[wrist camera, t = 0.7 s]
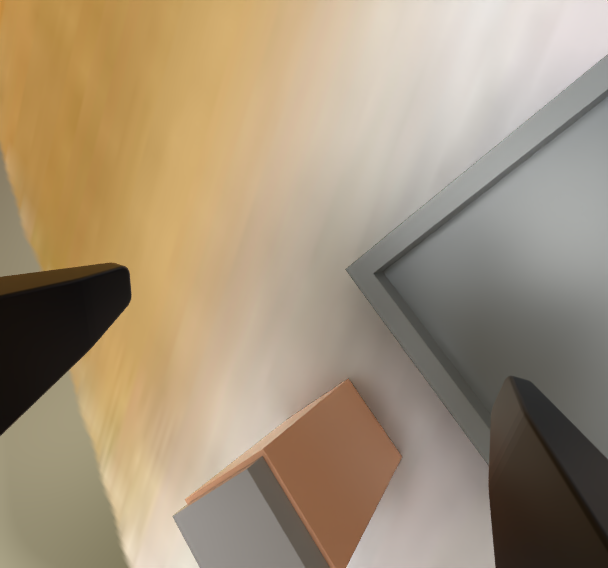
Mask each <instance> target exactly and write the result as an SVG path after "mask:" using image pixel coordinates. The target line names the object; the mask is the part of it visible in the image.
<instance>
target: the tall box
mask: <svg viewBox="0 0 608 568" xmlns="http://www.w3.org/2000/svg"><path fill="white" fill-rule="evenodd" d="M401 458H402V456H401V455H400V453H399V452H398V450H397V449H396V447H395V446H394V444H393V443H392V441H391V440H390V438H389V437H388V436H387V434H386V433H385V431H384V430H383V428H382V427H381V425H380V424H379V422H378V421H377V419H376V418H375V417H374V415H373V414H372V412H371V411H370V409H369V408H368V406H367V405H366V403H365V402H364V400H363V399H362V398H361V396H360V395H359V393H358V392H357V390H356V389H355V387H354V386H353V384H352V383H351V381H350V380H349V379H347V380H345V381H344V382H342V383H341V384H339V385H338V386H336V387H335V388H333V389H332V390H330V391H329V392H327V393H326V394H324V395H323V396H321V397H320V398H318V399H317V400H315V401H314V402H312V403H311V404H309V405H308V406H306V407H305V408H303V409H302V410H300V411H299V412H297V413H296V414H294V415H293V416H291V417H290V418H288V419H287V420H286V421H284V422H283V423H282V424H281V425H279V426H278V427H277V428H276V429H274V430H273V431H272V432H270V433H269V434H268V435H267V436H265V437H264V438H263V439H261V440H260V441H259V442H258V443H256V444H255V445H254V446H253V447H251V448H250V449H249V450H247V451H246V452H245V453H244V454H242V455H241V456H240V457H238V458H237V459H236V460H235V461H233V462H232V463H231V464H230V465H228V466H227V467H226V468H224V469H223V470H222V471H221V472H219V473H218V474H217V475H215V476H214V477H213V478H212V479H210V480H209V481H208V482H207V483H205V484H204V485H203V486H201V487H200V488H199V489H198V490H196V491H195V492H194V493H192V494H191V495H190V496H189V497H187V498H186V499H185V501H186V503H187V505H186V506H184V507H183V508H182V509H181V510H180V511H178V512H177V513H176V514H175V515H173V518H174V520H175V522H176V524H177V526H178V528H179V530H180V531H181V533H182V535H183V537H184V539H185V541H186V543H187V544H188V546H189V548H190V550H191V552H192V554H193V556H194V558H195V559H196V561H197V563H198V565H199V567H200V568H346V567H347V565H348V563H349V561H350V559H351V557H352V555H353V553H354V551H355V549H356V547H357V545H358V543H359V541H360V539H361V537H362V535H363V533H364V531H365V529H366V527H367V525H368V523H369V521H370V519H371V517H372V515H373V513H374V511H375V509H376V507H377V505H378V503H379V501H380V500H381V498H382V496H383V494H384V492H385V490H386V488H387V486H388V484H389V482H390V480H391V478H392V476H393V474H394V472H395V470H396V468H397V466H398V464H399V462H400V460H401Z"/></svg>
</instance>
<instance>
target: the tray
mask: <svg viewBox="0 0 608 568" xmlns="http://www.w3.org/2000/svg"><path fill="white" fill-rule="evenodd" d="M345 270H346V271H347V272H348V274H349V275H350V276H351V278H352V279H353V280H354V282H355V283H356V285H357V286H358V287H359V289H360V290H361V291H362V293H363V294H364V296H365V297H366V298H367V300H368V301H369V302H370V304H371V305H372V306H373V308H374V309H375V311H376V312H377V313H378V315H379V316H380V317H381V319H382V320H383V322H384V323H385V324H386V326H387V327H388V328H389V330H390V331H391V333H392V334H393V335H394V337H395V338H396V339H397V341H398V342H399V343H400V345H401V346H402V348H403V349H404V350H405V352H406V353H407V354H408V356H409V357H410V359H411V360H412V361H413V363H414V364H415V365H416V367H417V368H418V369H419V371H420V372H421V374H422V375H423V376H424V378H425V379H426V380H427V382H428V383H429V385H430V386H431V387H432V389H433V390H434V391H435V393H436V394H437V396H438V397H439V398H440V400H441V401H442V402H443V404H444V405H445V406H446V408H447V409H448V411H449V412H450V413H451V415H452V416H453V417H454V419H455V420H456V422H457V423H458V424H459V426H460V427H461V428H462V430H463V431H464V432H465V434H466V435H467V437H468V438H469V439H470V441H471V442H472V443H473V445H474V446H475V448H476V449H477V450H478V452H479V453H480V454H481V456H482V457H483V458H484V460H485V461H486V463H487V464H488V465H489V452H490V426H491V412H492V408H493V405H494V402H495V400H496V398H497V396H498V394H499V391H500V389H501V387H502V385H503V383H504V381H505V379H506V378H507V377H508V376H510V375H512V376H516V377H519V378H523V379H527V380H529V381H531V382H532V383H533V384H534V385H535V386H536V387H537V388H538V389H539V390H540V391H541V392H542V393H543V394H544V395H545V396H546V397H547V398H548V399H549V400H550V401H551V402H552V403H553V404H554V405H555V406H556V407H557V408H558V409H559V410H560V411H561V412H562V413H563V414H564V415H565V416H566V417H567V418H568V419H569V420H570V421H571V422H572V423H573V424H574V425H575V426H576V427H577V428H578V429H579V430H580V431H581V432H582V433H583V434H584V435H585V436H586V437H587V438H588V439H589V440H590V441H591V442H592V443H593V444H594V445H595V446H596V447H597V448H598V450H599V451H600V452H601V453H602V454H603V455H604V456H605V457H606V458H607V459H608V55H606V56H605V57H604V58H603V59H601V60H600V61H599V62H598V63H597V64H595V65H594V66H593V67H592V68H591V69H589V70H588V71H587V72H586V73H584V74H583V75H582V76H581V77H580V78H578V79H577V80H576V81H575V82H573V83H572V84H571V85H570V86H569V87H567V88H566V89H565V90H564V91H562V92H561V93H560V94H559V95H558V96H556V97H555V98H554V99H553V100H551V101H550V102H549V103H548V104H547V105H545V106H544V107H543V108H542V109H540V110H539V111H538V112H537V113H536V114H534V115H533V116H532V117H531V118H529V119H528V120H527V121H526V122H525V123H523V124H522V125H521V126H520V127H519V128H517V129H516V130H515V131H514V132H512V133H511V134H510V135H509V136H508V137H506V138H505V139H504V140H503V141H501V142H500V143H499V144H498V145H497V146H495V147H494V148H493V149H492V150H490V151H489V152H488V153H487V154H486V155H484V156H483V157H482V158H481V159H479V160H478V161H477V162H476V163H475V164H473V165H472V166H471V167H470V168H468V169H467V170H466V171H465V172H464V173H462V174H461V175H460V176H459V177H458V178H456V179H455V180H454V181H453V182H451V183H450V184H449V185H448V186H447V187H445V188H444V189H443V190H442V191H440V192H439V193H438V194H437V195H436V196H434V197H433V198H432V199H431V200H429V201H428V202H427V203H426V204H425V205H423V206H422V207H421V208H420V209H418V210H417V211H416V212H415V213H414V214H412V215H411V216H410V217H409V218H407V219H406V220H405V221H404V222H403V223H401V224H400V225H399V226H398V227H396V228H395V229H394V230H393V231H392V232H390V233H389V234H388V235H387V236H386V237H384V238H383V239H382V240H381V241H379V242H378V243H377V244H376V245H375V246H373V247H372V248H371V249H370V250H368V251H367V252H366V253H365V254H364V255H362V256H361V257H360V258H359V259H357V260H356V261H355V262H354V263H353V264H351V265H350V266H349V267H348V268H346V269H345Z"/></svg>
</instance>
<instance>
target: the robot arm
mask: <svg viewBox="0 0 608 568" xmlns="http://www.w3.org/2000/svg"><path fill="white" fill-rule="evenodd" d="M130 301H131V283H130V273H129V270H128V268H127V267H125V266H123V265H119V264H116V263H104V264H96V265H89V266H81V267H73V268H65V269H58V270H50V271H42V272H35V273H27V274H20V275H12V276H4V277H0V436H1V435H2V434H3V433H4V432H5V431H6V430H7V429H8V428H9V427H10V426H11V425H12V424H13V423H14V422H16V421H17V420H18V418H19V417H21V415H23V414H24V413H25V412H26V411H27V410H28V409H29V408H30V407H31V406H32V405H33V404H34V403H35V402H36V401H37V400H38V399H39V398H40V397H41V396H42V395H44V394H45V393H46V392H47V391H48V390H49V389H50V388H51V387H52V386H53V385H54V384H55V383H56V382H57V381H58V380H59V379H60V378H61V377H62V376H63V375H64V374H65V373H66V372H67V371H68V370H69V369H71V368H72V367H73V366H74V365H75V364H76V363H77V362H78V361H79V360H80V359H81V358H82V357H83V356H84V355H85V354H86V353H87V352H88V351H89V350H90V349H91V348H92V347H93V346H94V345H95V343H96V342H97V341H98V340H99V339H100V338H101V337H102V335H103V334H104V333H105V332H106V331H107V330H108V328H109V327H110V326H111V325H112V324H113V323H114V321H115V320H116V319H117V318H118V317H119V315H120V314H121V313H122V312H123V311H124V310H125V308H126V307H127V306H128V305H129V303H130ZM489 499H490V510H491V521H492V533H493V544H494V555H495V566H496V568H608V459H607V458H606V457H605V456H604V455H603V454H602V453H601V452H600V451H599V450H598V448H597V447H596V446H595V445H594V444H593V443H592V442H591V441H590V440H589V439H588V438H587V437H586V436H585V435H584V434H583V433H582V432H581V431H580V430H579V429H578V428H577V427H576V426H575V425H574V424H573V423H572V422H571V421H570V420H569V419H568V418H567V417H566V416H565V415H564V414H563V413H562V412H561V411H560V410H559V409H558V408H557V407H556V406H555V405H554V404H553V403H552V402H551V401H550V400H549V399H548V398H547V397H546V396H545V395H544V394H543V393H542V392H541V391H540V390H539V389H538V388H537V387H536V386H535V385H534V384H533V383H532V382H531V381H529V380H527V379H523V378H519V377H516V376H512V375H510V376H508V377H507V378H506V379H505V381H504V383H503V385H502V387H501V389H500V391H499V394H498V396H497V398H496V400H495V402H494V405H493V408H492V412H491V426H490V452H489Z"/></svg>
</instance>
